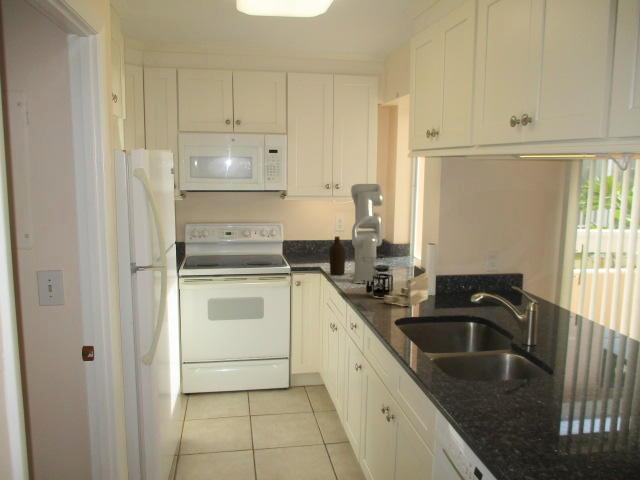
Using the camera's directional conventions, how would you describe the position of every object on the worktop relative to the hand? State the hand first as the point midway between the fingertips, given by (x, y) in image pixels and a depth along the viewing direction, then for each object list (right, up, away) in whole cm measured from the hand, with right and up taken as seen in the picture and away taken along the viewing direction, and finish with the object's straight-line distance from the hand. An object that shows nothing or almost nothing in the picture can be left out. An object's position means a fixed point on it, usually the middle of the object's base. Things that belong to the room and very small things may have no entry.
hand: (369, 292), depth 269 cm
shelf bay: (+18, -3, -13) cm, 22 cm away
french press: (+6, -2, -4) cm, 8 cm away
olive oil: (-16, +6, +54) cm, 56 cm away
